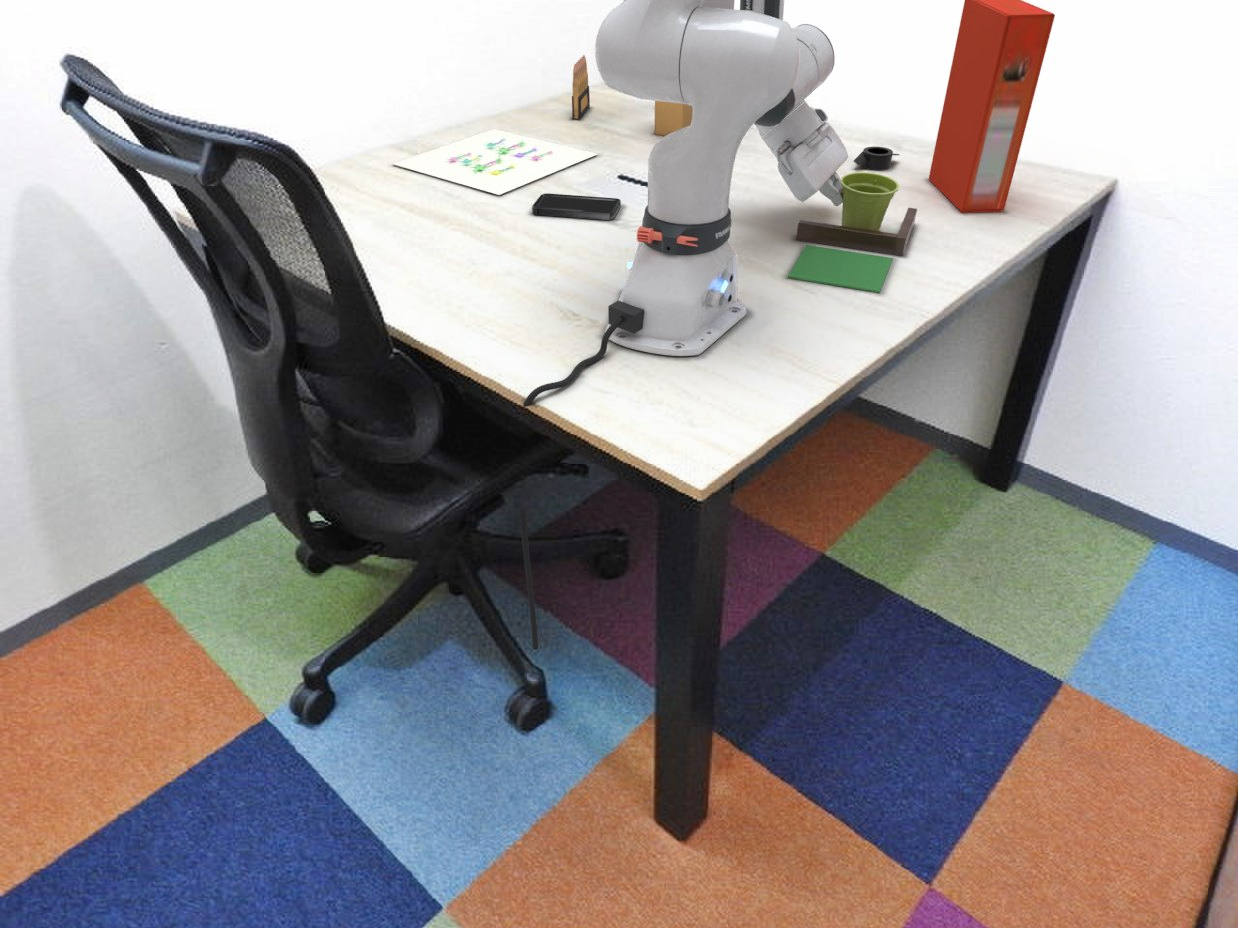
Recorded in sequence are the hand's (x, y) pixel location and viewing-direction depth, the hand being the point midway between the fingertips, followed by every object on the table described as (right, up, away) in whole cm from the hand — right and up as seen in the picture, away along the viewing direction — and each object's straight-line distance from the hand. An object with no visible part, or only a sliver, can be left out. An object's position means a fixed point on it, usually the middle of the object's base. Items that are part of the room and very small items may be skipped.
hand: (842, 201), depth 146 cm
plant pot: (+3, -5, +2) cm, 6 cm away
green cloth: (-3, -14, -10) cm, 17 cm away
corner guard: (+3, -5, +2) cm, 6 cm away
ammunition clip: (-47, +39, +60) cm, 86 cm away
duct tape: (+14, +16, +30) cm, 37 cm away
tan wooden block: (-25, +29, +47) cm, 61 cm away
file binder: (+27, +6, +16) cm, 32 cm away
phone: (-45, +2, +10) cm, 47 cm away
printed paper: (-63, +18, +33) cm, 73 cm away
